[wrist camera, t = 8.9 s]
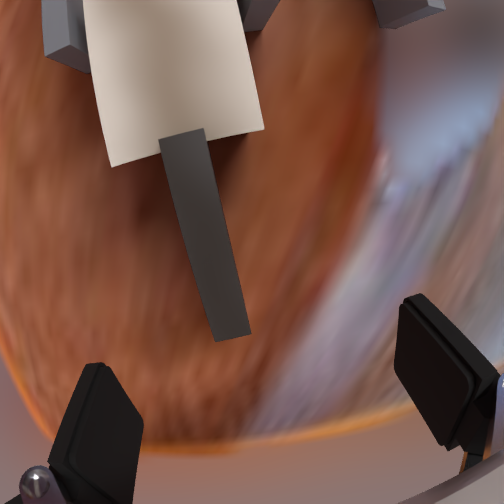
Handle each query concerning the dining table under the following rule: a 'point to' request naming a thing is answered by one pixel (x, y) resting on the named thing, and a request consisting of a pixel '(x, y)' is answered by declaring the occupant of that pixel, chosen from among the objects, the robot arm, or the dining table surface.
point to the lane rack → (250, 8)
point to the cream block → (179, 118)
